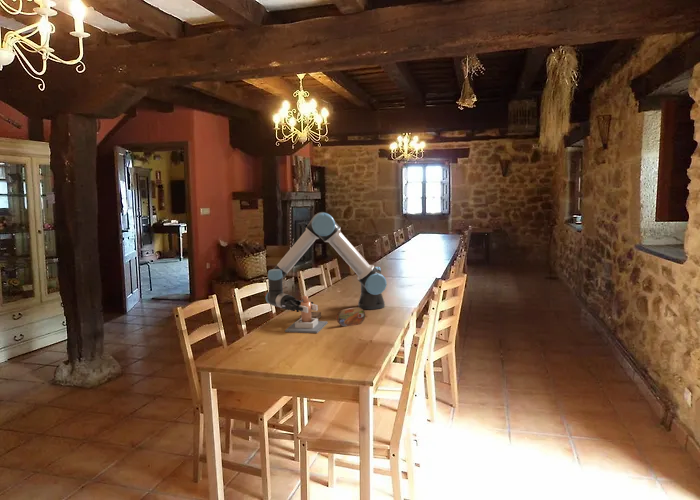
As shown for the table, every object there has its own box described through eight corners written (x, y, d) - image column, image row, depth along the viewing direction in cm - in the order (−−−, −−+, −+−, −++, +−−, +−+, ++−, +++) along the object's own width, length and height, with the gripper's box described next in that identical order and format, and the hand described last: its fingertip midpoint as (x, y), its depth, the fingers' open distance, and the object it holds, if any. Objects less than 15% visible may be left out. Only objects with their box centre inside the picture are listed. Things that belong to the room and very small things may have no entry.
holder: (327, 323, 257) (327, 316, 256) (317, 333, 240) (316, 326, 239) (297, 322, 261) (297, 315, 260) (285, 332, 243) (284, 324, 243)
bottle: (312, 321, 252) (312, 295, 250) (309, 323, 247) (308, 297, 245) (303, 320, 253) (302, 295, 251) (300, 323, 248) (299, 297, 246)
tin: (338, 327, 248) (338, 310, 247) (336, 326, 251) (335, 309, 250) (365, 323, 255) (365, 306, 254) (362, 321, 258) (362, 305, 257)
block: (321, 316, 271) (321, 312, 270) (316, 321, 262) (316, 316, 262) (305, 316, 273) (304, 311, 272) (299, 320, 264) (299, 315, 264)
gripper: (300, 305, 269) (327, 313, 251) (271, 311, 257) (297, 320, 239) (300, 291, 268) (326, 298, 250) (270, 297, 256) (296, 304, 239)
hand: (312, 309), depth 245 cm, fingers closed on bottle, 5 cm apart
